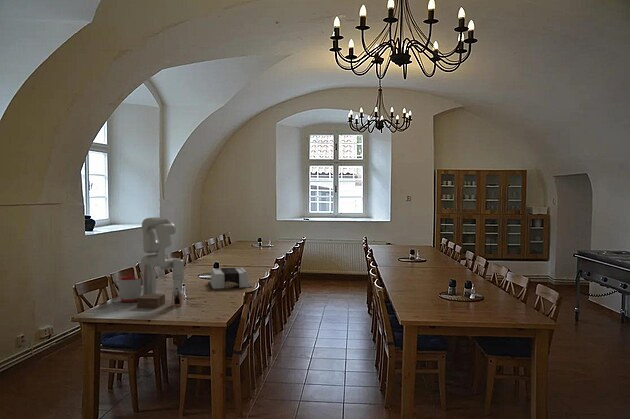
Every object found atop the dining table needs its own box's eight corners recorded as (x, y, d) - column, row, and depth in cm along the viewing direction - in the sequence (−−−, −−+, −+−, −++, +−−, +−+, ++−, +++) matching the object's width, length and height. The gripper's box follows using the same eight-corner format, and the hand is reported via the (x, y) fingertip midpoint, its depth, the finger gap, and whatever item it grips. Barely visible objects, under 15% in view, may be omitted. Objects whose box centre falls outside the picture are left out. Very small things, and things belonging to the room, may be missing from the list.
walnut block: (145, 303, 353) (145, 293, 352) (164, 304, 352) (164, 294, 351) (137, 308, 339) (136, 298, 338) (157, 308, 338) (157, 298, 337)
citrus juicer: (148, 299, 364) (148, 272, 363) (129, 304, 348) (129, 276, 347) (132, 297, 371) (132, 270, 370) (113, 301, 355) (113, 274, 354)
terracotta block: (174, 304, 351) (174, 292, 351) (183, 304, 351) (183, 292, 351) (173, 306, 345) (172, 294, 345) (181, 306, 345) (181, 294, 345)
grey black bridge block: (251, 288, 410) (252, 273, 409) (210, 290, 401) (211, 274, 400) (245, 280, 444) (245, 266, 443) (207, 282, 434) (207, 268, 434)
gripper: (175, 275, 356) (175, 300, 357) (169, 279, 339) (170, 305, 339) (186, 275, 356) (186, 300, 357) (181, 279, 339) (181, 305, 340)
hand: (178, 302), depth 348 cm, fingers closed on terracotta block, 6 cm apart
